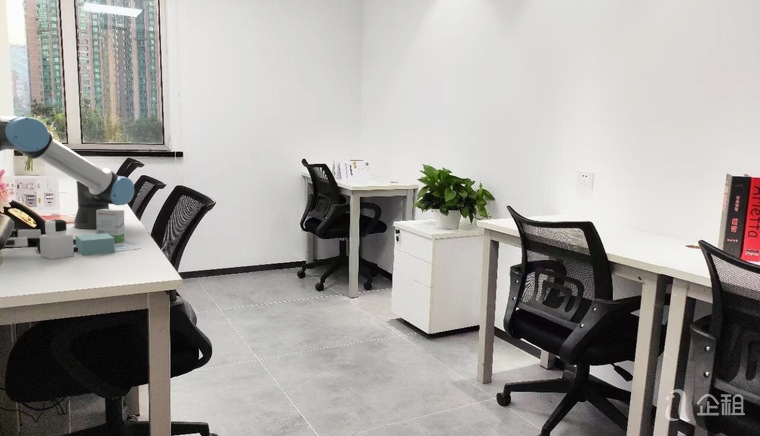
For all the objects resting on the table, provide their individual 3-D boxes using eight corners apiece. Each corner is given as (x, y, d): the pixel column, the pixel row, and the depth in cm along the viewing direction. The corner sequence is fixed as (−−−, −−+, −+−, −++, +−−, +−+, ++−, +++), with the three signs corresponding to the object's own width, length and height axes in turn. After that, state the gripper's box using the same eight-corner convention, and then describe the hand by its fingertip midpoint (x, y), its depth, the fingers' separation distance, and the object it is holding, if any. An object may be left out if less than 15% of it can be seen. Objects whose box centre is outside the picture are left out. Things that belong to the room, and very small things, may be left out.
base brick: (76, 249, 196) (75, 235, 195) (107, 246, 202) (106, 233, 201) (82, 255, 188) (81, 240, 187) (114, 252, 194) (114, 237, 193)
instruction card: (103, 245, 203) (103, 245, 203) (125, 243, 209) (125, 242, 209) (117, 251, 195) (117, 251, 195) (140, 248, 201) (140, 248, 201)
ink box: (96, 241, 211) (94, 210, 209) (104, 238, 216) (103, 208, 214) (118, 242, 210) (117, 211, 208) (125, 240, 215) (124, 209, 213)
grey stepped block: (62, 253, 190) (60, 217, 189) (74, 256, 187) (72, 220, 185) (40, 256, 184) (38, 220, 182) (52, 259, 181) (50, 222, 179)
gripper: (-26, 242, 189) (45, 241, 195) (-61, 259, 166) (22, 257, 172) (-27, 220, 188) (44, 220, 194) (-63, 234, 165) (20, 233, 170)
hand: (34, 237), depth 183 cm, fingers open, 13 cm apart
